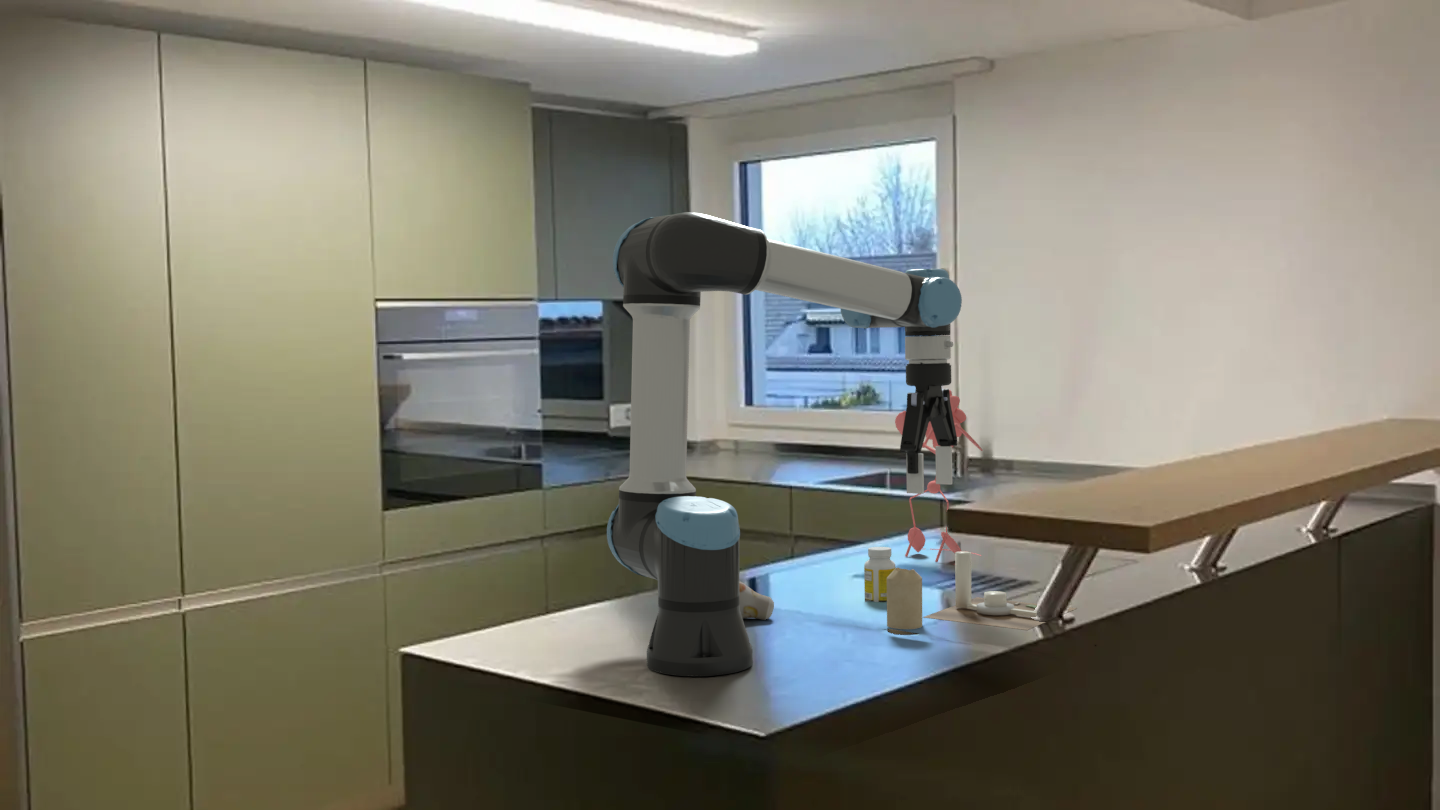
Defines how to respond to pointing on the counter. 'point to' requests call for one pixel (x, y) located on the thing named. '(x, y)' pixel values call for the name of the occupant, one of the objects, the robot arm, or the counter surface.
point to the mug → (754, 604)
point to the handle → (992, 600)
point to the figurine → (915, 534)
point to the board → (990, 616)
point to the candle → (904, 601)
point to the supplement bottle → (877, 573)
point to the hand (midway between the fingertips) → (930, 488)
